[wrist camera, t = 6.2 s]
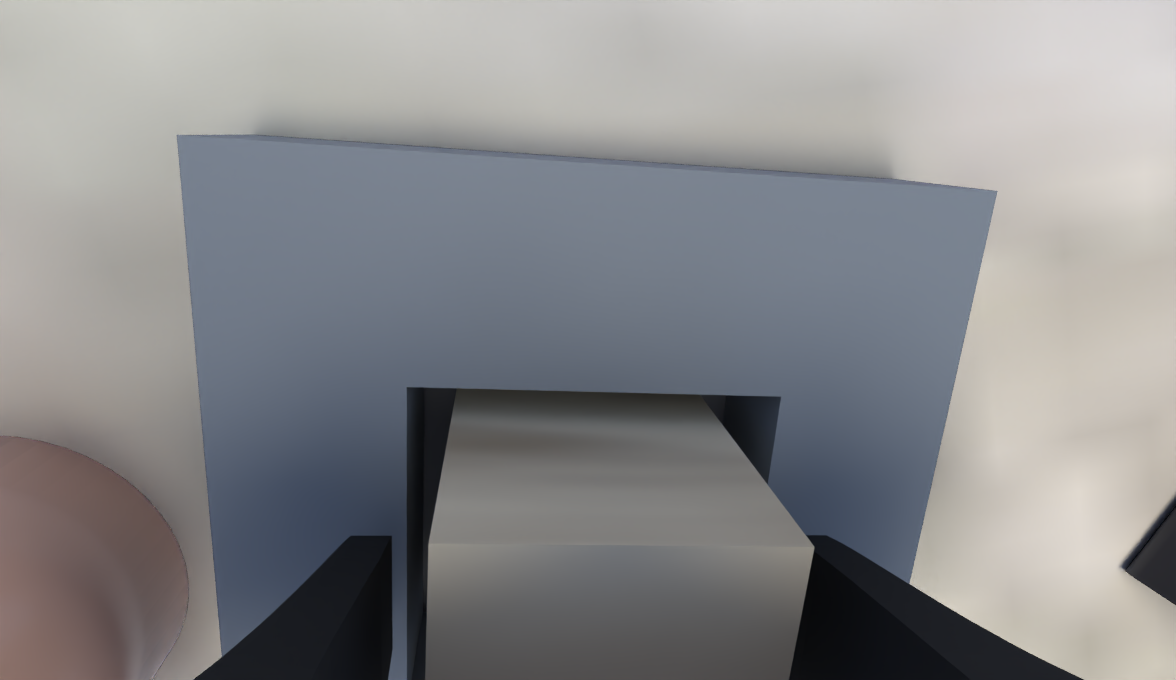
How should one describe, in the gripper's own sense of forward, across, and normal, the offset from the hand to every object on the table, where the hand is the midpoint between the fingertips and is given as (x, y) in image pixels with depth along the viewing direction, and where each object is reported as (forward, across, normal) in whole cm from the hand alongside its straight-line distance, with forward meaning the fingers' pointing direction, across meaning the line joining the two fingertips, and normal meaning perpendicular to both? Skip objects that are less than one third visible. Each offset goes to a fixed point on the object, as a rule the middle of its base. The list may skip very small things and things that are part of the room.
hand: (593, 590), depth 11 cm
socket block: (+4, 0, 0) cm, 4 cm away
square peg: (+3, 0, 0) cm, 4 cm away
